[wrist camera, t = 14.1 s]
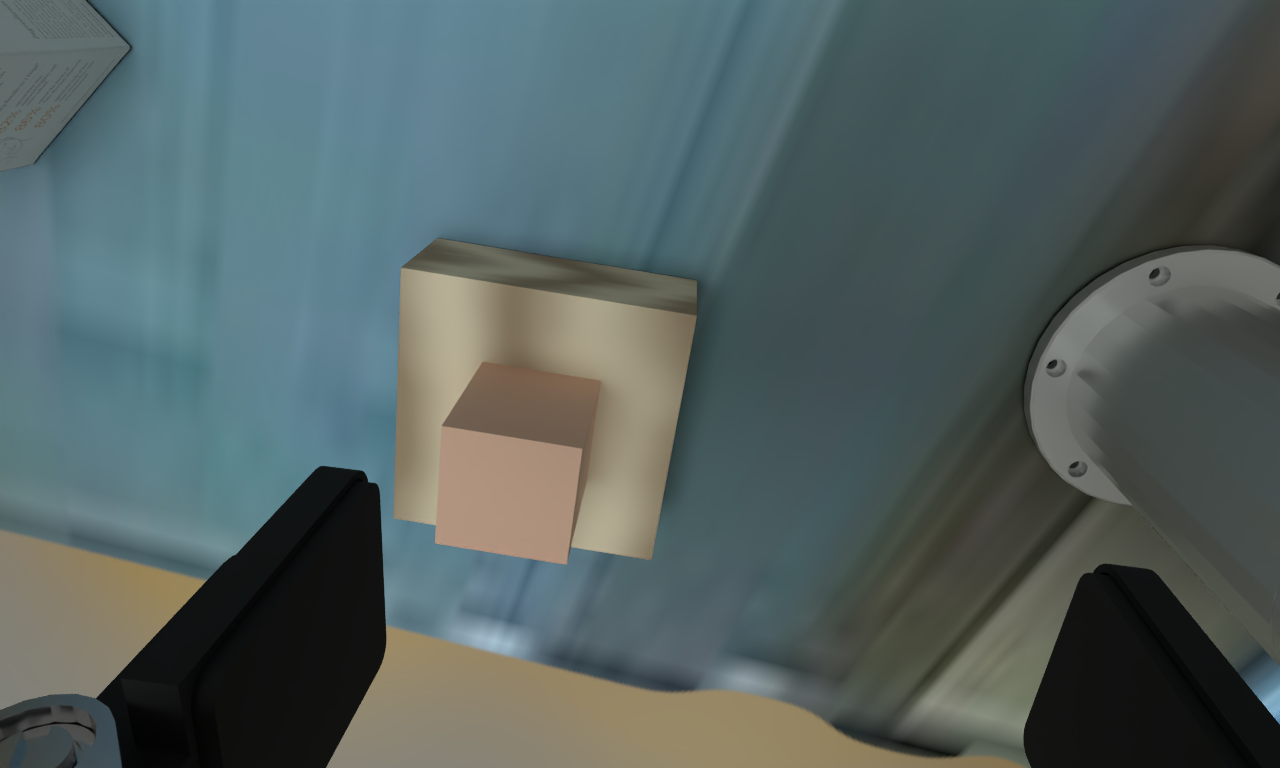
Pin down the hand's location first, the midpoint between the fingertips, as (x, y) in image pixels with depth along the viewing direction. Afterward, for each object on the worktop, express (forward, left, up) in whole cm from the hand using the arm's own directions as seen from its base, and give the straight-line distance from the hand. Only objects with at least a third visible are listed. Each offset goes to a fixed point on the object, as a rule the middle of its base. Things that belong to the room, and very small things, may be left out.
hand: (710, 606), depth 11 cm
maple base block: (+6, +9, -27) cm, 29 cm away
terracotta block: (+5, +9, -22) cm, 25 cm away
